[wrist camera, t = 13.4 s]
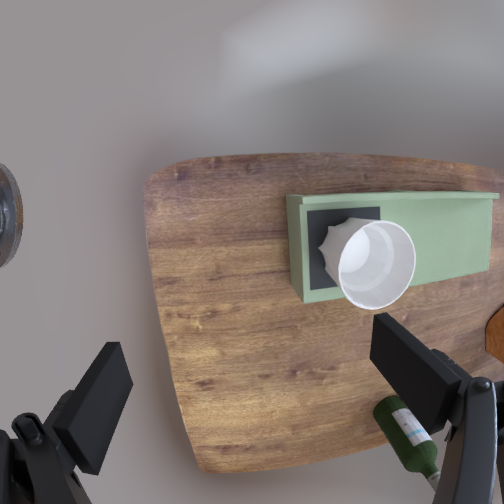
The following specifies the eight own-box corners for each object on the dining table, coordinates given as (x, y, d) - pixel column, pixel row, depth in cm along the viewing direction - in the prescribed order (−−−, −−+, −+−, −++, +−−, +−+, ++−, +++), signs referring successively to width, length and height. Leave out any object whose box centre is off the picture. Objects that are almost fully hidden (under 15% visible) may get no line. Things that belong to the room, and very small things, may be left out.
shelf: (290, 284, 50) (307, 309, 40) (285, 194, 47) (302, 196, 36) (460, 259, 53) (494, 272, 42) (462, 189, 49) (499, 193, 39)
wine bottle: (371, 422, 60) (422, 510, 31) (373, 401, 58) (432, 493, 29) (398, 412, 61) (454, 492, 31) (402, 390, 59) (467, 473, 30)
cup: (367, 202, 39) (405, 208, 29) (384, 266, 41) (421, 287, 32) (303, 227, 39) (327, 241, 29) (324, 293, 41) (351, 323, 32)
